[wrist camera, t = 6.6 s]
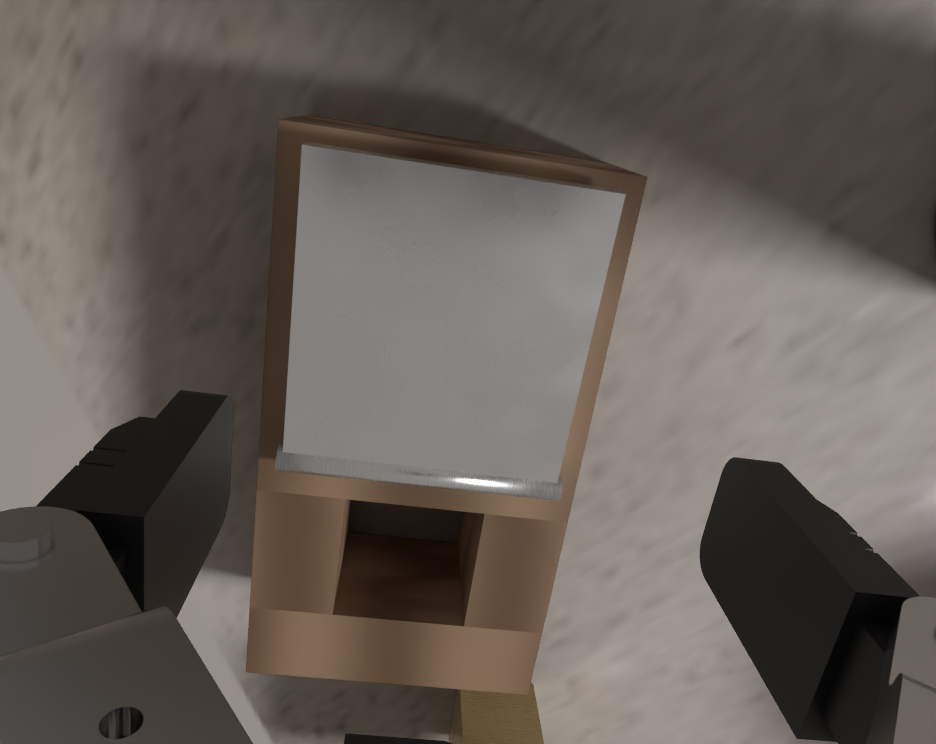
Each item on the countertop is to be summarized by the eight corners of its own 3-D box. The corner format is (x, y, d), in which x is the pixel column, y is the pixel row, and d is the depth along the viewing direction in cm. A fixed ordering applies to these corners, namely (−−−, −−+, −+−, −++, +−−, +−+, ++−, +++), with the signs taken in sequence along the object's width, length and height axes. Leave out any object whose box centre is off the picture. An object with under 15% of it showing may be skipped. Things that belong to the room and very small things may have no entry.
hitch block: (605, 162, 30) (647, 177, 24) (512, 604, 37) (527, 694, 31) (308, 115, 28) (278, 119, 23) (274, 582, 36) (245, 672, 30)
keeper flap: (625, 191, 23) (633, 196, 22) (554, 491, 28) (558, 506, 27) (299, 140, 22) (293, 144, 21) (280, 461, 27) (274, 476, 26)
